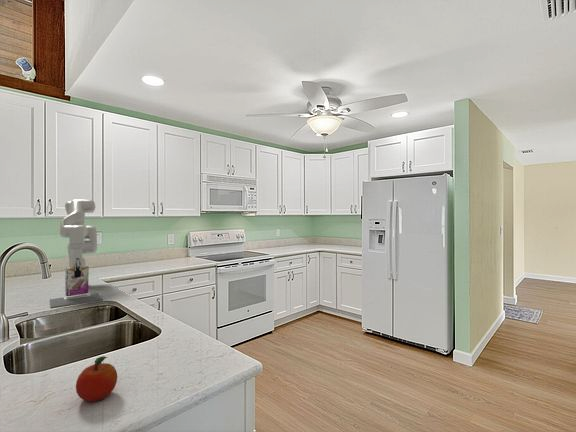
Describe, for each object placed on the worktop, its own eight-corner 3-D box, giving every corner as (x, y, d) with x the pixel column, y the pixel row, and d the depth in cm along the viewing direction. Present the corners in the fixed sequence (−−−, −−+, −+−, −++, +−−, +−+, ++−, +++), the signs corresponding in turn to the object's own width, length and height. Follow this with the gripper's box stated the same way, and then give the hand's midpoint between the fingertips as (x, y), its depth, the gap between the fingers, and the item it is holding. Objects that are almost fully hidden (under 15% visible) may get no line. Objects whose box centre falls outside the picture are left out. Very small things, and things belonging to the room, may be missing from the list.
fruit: (65, 406, 78) (65, 367, 78) (95, 385, 88) (95, 351, 88) (98, 410, 77) (98, 370, 77) (125, 388, 86) (124, 353, 86)
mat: (49, 300, 179) (49, 298, 179) (97, 293, 194) (97, 292, 194) (50, 308, 163) (50, 306, 163) (102, 300, 178) (102, 299, 178)
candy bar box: (66, 296, 179) (66, 268, 179) (65, 295, 182) (64, 267, 182) (88, 293, 186) (88, 266, 186) (87, 292, 190) (86, 265, 190)
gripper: (68, 245, 189) (68, 275, 189) (70, 248, 175) (70, 279, 175) (83, 245, 193) (83, 273, 193) (86, 247, 180) (86, 277, 180)
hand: (77, 276), depth 184 cm, fingers closed on candy bar box, 5 cm apart
